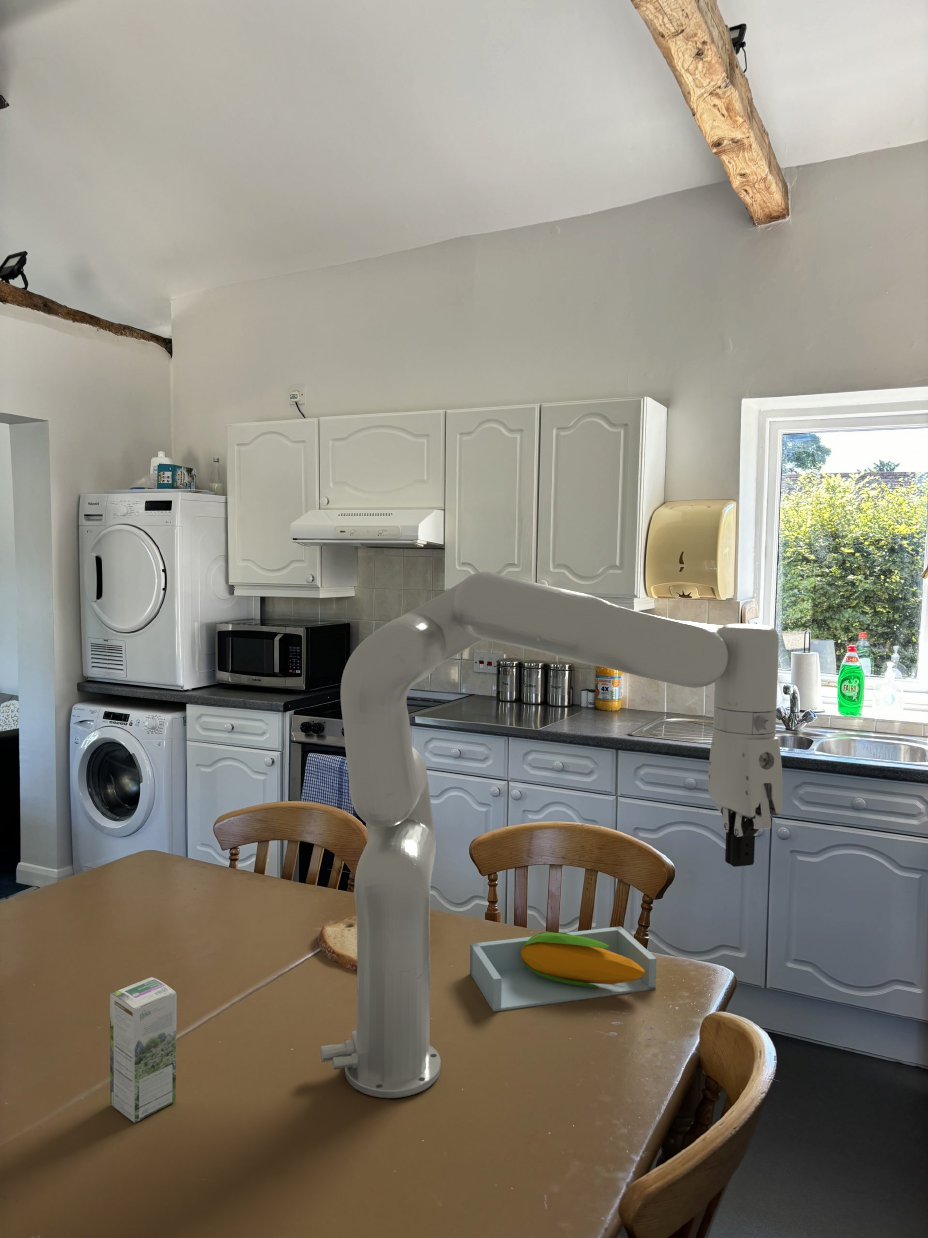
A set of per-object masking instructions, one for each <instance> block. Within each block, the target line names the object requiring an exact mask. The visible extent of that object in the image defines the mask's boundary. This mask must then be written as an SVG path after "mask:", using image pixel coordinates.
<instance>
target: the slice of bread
mask: <svg viewBox="0 0 928 1238" xmlns="http://www.w3.org/2000/svg"><path fill="white" fill-rule="evenodd" d="M317 943H318V946H319V949H320V950H321V952H322V954H323V955H325V956H326V957H328V959H329V960H330V961H333V962H335V963H338V964H339V965H340V966H342V967H344V968H346V969H348V970H351V971H354V972H357V916H356V915H353V916H350V917H348V918H344V919H342V920H340V921H337V922H336V923H334V924H330V925H324V926H322V928H321V930H320V932H319V934H318V937H317Z"/></svg>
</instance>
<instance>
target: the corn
mask: <svg viewBox="0 0 928 1238" xmlns="http://www.w3.org/2000/svg"><path fill="white" fill-rule="evenodd" d="M567 933H568V932H558V931H557V932H556V931H545V932H540V933H537V934H536V935H533V936H530V937H531V938H530V939H529V940H528V941H527V942H526V943H525V944H524V945H523V946H522V948H521V955H520V956H521V959H522V961H523V963H524V964H525V966H526V967H527V968H528V969H529V970H531V971H532V972H534V973H536V974H537V975H539V976H541V977H544V978H547V979H550V980H553V981H556V982H561V983H566V984H572V985H578V986H585V987H594V988H599V987H598V986H596V985H594V984H618V983H624V982H630V981H636V980H638V979H640V978H642V977H643V975H644V973H645V971H644V969H643V968H642V967H641V966H639V965H638V964H637V963H636V962H634V961H633V960H631V959H629V958H626V957H624V956H621V955H618V954H616V953H613V952H611V951H608V950H605V949H606V948H608V947H609V945H607V944H604V943H602V942H600V941H597V940H594V939H591V938H586V937H581V936H577V935H570V934H567ZM602 948H604V949H602ZM589 983H594V984H589Z"/></svg>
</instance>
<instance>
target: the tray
mask: <svg viewBox="0 0 928 1238" xmlns="http://www.w3.org/2000/svg"><path fill="white" fill-rule="evenodd" d="M566 933H567V934H570V935H577V936H581V937H586V938H591V939H594V940H597V941H600V942H602V943H604V944H607V945H609V947H608V948H606V949H605V950H608V951H611V952H613V953H616V954H618V955H621V956H624V957H626V958H629V959H631V960H633V961H634V962H636V963H637V964H638V965H639V966H641V967H642V968H643V969H644V971H645V973H644V975H643V977H642V978H640V979H638V980H636V981H630V982H624V983H618V984H594V983H589V984H594V985H596V986H598V987H599V988H594V987H585V986H578V985H572V984H566V983H561V982H556V981H553V980H550V979H547V978H544V977H541V976H539V975H537V974H536V973H534V972H532V971H531V970H529V969H528V968H527V967H526V966H525V964H524V963H523V961H522V959H521V956H520V955H521V948H522V946H523V945H524V944H525V943H526V942H527V941H528V940H529V939H530V938H531V937H532V936H526V937H518V938H510V939H501V940H493V941H492V940H491V941H490V940H489V941H483V942H475V943H470V945H469V947H470V949H469V950H470V951H469V954H470V955H469V974H470V977H472V979H473V981H474V982H475V984H476V986H477V987H478V988H479V991H480V992H481V994H482V995H483V997H484V999H485V1000H486V1002H487V1003H488V1005H489V1007H490V1008H491V1010H492V1011H493V1012H494V1013H495V1012H501V1011H508V1010H514V1009H522V1008H530V1007H536V1006H544V1005H551V1004H559V1003H564V1002H573V1001H580V1000H587V999H594V998H602V997H609V996H615V995H623V994H628V993H629V994H630V993H637V992H645V991H651V990H656V987H657V986H656V984H657V957H655V956H654V954H653V953H651V952H650V951H649V950H648V949H647V948H645V947H644V946H643V945H642V944H641V943H640V942H639V941H638V940H637V939H636V938H634V937H633V936H632V935H631V934H630V933H629V932H628V931H626V929H624V928H623V927H622V926H614V927H613V926H611V927H604V928H596V929H595V928H594V929H588V930H578V931H569V932H566ZM602 949H604V948H602Z"/></svg>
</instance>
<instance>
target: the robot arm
mask: <svg viewBox="0 0 928 1238" xmlns="http://www.w3.org/2000/svg"><path fill="white" fill-rule="evenodd" d="M779 639H780V637H779V634H778V632H777V630H776V629H775V628H774V627H772V626H770V625H765V624H757V623H755V624H754V623H730V624H729V623H728V624H725V625H719V624H707V623H700V622H694V621H688V620H675V619H671V618H666V617H663V616H658V615H653V614H649V613H646V612H641V611H637V610H634V609H630V608H628V607H627V608H626V607H623V606H620V605H617V604H614V603H612V602H609V601H607V600H605V599H602V598H600V597H598V596H597V597H596V596H593V595H591V594H587V593H583V592H578V591H574V590H570V589H565V588H562V587H557V586H556V587H555V586H551V585H547V584H544V583H543V584H542V583H538V582H533V581H530V580H525V579H522V578H521V579H520V578H517V577H512V576H508V575H504V574H499V573H495V572H492V571H479V572H475V573H473V574H470V575H469V576H467V577H466V578H464V579H463V580H462V581H460V582H459V583H457V584H456V585H454V586H453V587H450V588H449V589H448V590H446V591H444V592H442V593H440V594H439V595H438V596H435V597H433V598H432V599H430V600H428V601H427V602H424V603H423V604H421V605H419V606H416V607H415V608H414V609H412V610H410V611H409V612H406V613H404V614H403V615H401V616H399V617H397V618H394V619H392V620H391V621H389V622H387V623H385V624H384V625H382V626H381V627H379V628H378V629H376V630H375V631H373V632H372V633H371V634H369V635H368V636H367V637H366V638H365V639H364V640H363V641H362V642H360V644H359V645H358V646H356V647H355V649H354V650H353V652H352V653H351V654H350V656H349V658H348V660H347V662H346V664H345V667H344V669H343V673H342V677H341V680H340V681H341V683H340V707H341V715H342V724H343V734H344V737H343V738H344V748H345V755H346V764H347V772H348V774H347V775H348V784H349V795H350V801H351V804H352V806H353V809H354V811H355V813H356V814H357V815H358V817H359V818H360V819H361V820H362V821H363V822H364V823H365V826H366V833H367V843H366V845H365V846H364V849H363V851H362V853H361V855H360V858H359V860H358V863H357V866H356V871H355V877H354V902H355V904H354V905H355V913H356V915H355V916H357V971H356V972H357V973H356V974H357V976H356V981H357V982H356V983H357V984H356V985H357V987H356V999H357V1001H356V1005H357V1006H356V1008H357V1009H356V1014H357V1015H356V1020H357V1021H356V1030H353V1031H351V1039H347V1040H344V1043H339V1044H338V1043H337V1044H328V1045H327V1044H326V1045H321V1046H320V1059H321V1063H327V1062H332V1068H333V1070H335V1071H336V1070H339V1069H344V1075H345V1079H346V1080H347V1082H348V1083H349V1084H350V1086H352V1087H353V1088H354V1089H355V1090H356V1091H359V1092H360V1093H362V1094H366V1095H368V1096H371V1097H374V1098H375V1097H376V1098H382V1099H397V1098H403V1097H404V1098H405V1097H409V1096H411V1095H412V1096H413V1095H416V1094H418V1093H421V1092H422V1091H425V1090H426V1089H428V1088H429V1087H431V1086H432V1085H433V1084H434V1083H435V1082H436V1081H437V1080H438V1079H439V1076H440V1074H441V1067H442V1066H441V1065H442V1062H441V1057H440V1054H439V1053H438V1051H437V1050H436V1049H435V1048H434V1047H433V1046H432V1045H431V1044H430V1024H431V1023H430V1019H431V1018H430V1009H431V1005H430V1004H431V1001H430V1000H431V999H430V998H431V885H432V884H431V882H432V874H433V870H434V863H435V859H436V858H435V857H436V853H437V851H436V849H437V848H436V847H437V845H436V836H435V835H436V833H435V827H434V819H433V811H432V801H431V793H430V784H429V777H428V771H427V767H426V764H425V762H424V761H425V760H424V759H423V757H422V755H421V754H420V752H419V751H418V750H417V749H416V748H415V747H414V746H413V744H412V743H413V742H412V737H411V726H410V725H411V723H410V722H411V721H410V716H409V711H408V705H407V704H408V703H407V698H408V694H409V693H410V690H411V688H412V687H413V686H414V685H416V684H417V683H419V682H421V681H422V680H424V679H426V678H428V677H429V676H430V675H431V674H432V673H433V672H434V671H435V669H436V668H437V667H438V666H439V665H441V664H443V663H445V662H446V661H449V660H450V659H453V658H454V657H456V656H457V655H459V654H461V653H463V652H465V651H466V650H468V649H470V648H471V647H473V646H475V645H477V644H478V643H480V642H482V641H483V640H487V641H490V642H495V643H498V644H503V645H507V646H510V647H511V646H512V647H516V648H517V647H518V648H521V649H527V650H531V651H535V652H539V653H544V654H545V655H550V656H555V657H558V658H559V657H560V658H563V659H568V660H571V661H575V662H578V663H581V664H585V665H589V666H597V667H602V668H607V669H610V670H614V671H618V672H622V673H626V674H630V675H633V676H637V677H641V678H646V679H649V680H654V681H658V682H663V683H667V684H671V685H676V686H681V687H685V688H691V689H696V688H697V689H698V688H699V689H700V688H704V687H708V686H710V685H712V684H714V692H713V694H714V695H713V696H714V697H713V724H712V725H713V727H712V728H713V729H712V730H713V731H712V737H711V744H710V751H709V759H708V760H709V761H708V776H707V785H708V786H707V788H708V789H707V790H708V795H709V797H710V799H712V801H713V806H714V807H715V809H717V810H718V811H719V812H720V813H721V815H722V822H723V830H724V831H725V852H724V853H725V854H724V855H725V856H724V861H725V862H726V863H727V864H728V865H730V866H732V867H735V868H736V867H737V868H738V867H747V866H753V865H754V863H755V846H756V845H755V844H756V836H758V835H759V831H760V830H769V829H771V828H772V820H771V816H774V817H776V816H780V815H781V814H782V812H783V802H784V801H783V797H784V796H783V792H784V791H783V790H784V789H783V788H784V787H783V786H784V785H783V764H782V754H781V748H780V743H779V737H777V736H776V732H777V731H776V729H777V728H776V725H777V706H778V705H777V702H778V701H777V699H778V680H779V679H778V678H779V677H778V676H779V675H778V673H779V648H780V647H779V646H780V642H779V641H780V640H779Z"/></svg>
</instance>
